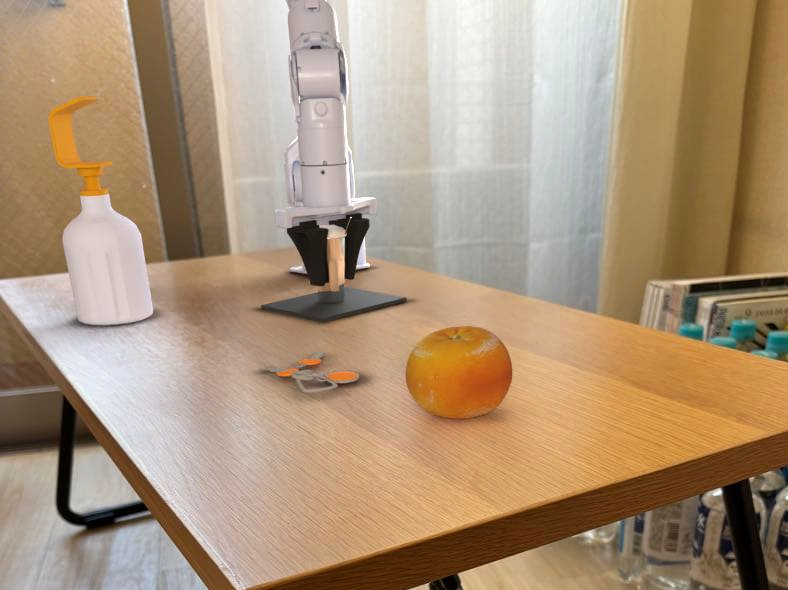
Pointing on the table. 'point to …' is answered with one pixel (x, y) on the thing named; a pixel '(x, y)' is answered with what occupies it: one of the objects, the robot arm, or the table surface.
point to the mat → (333, 305)
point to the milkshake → (334, 265)
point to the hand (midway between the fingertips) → (332, 281)
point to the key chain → (315, 374)
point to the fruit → (459, 372)
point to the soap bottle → (99, 240)
